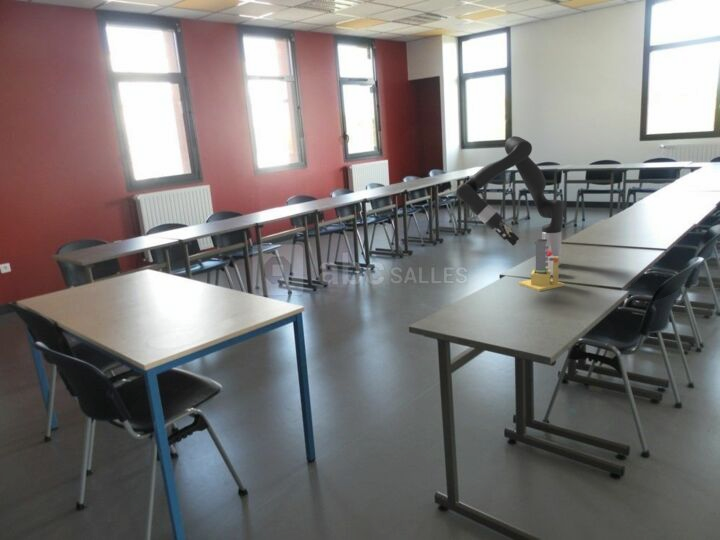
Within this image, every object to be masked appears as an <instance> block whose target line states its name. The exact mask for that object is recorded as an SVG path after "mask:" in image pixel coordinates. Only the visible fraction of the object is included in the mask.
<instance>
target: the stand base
mask: <svg viewBox="0 0 720 540" xmlns="http://www.w3.org/2000/svg"><path fill="white" fill-rule="evenodd" d="M549 261H553V275H552V276H551V270H548V272H546V274H536V272H535V270H536V269H532V271H531V273H530V279H526V280H521V281H518V282H517V285H519V286H522V287H526V288H528V289H531V290H534V291H537V292H542V291H545V290H546V291H547V290H551V289H555V288H560V287H564V286H565V283H563V282H561V281H559V266H558V264H559V256H554V257H553V258H549ZM551 277H552V278H551Z"/></svg>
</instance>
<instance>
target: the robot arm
mask: <svg viewBox="0 0 720 540" xmlns="http://www.w3.org/2000/svg"><path fill="white" fill-rule="evenodd" d="M532 146H533V145H532V143H531V142H530V141H528V140H526V139H524V138H522V137H520V136H517V135H516V136H515V135H514V136H513V135H512V136H510V137H508V139H507V140H506V141H505V144H504V150H505V154H506V156H505V157H502V158H501V159H499V160H496V161H494V162H491V163H489V164H487V165H485V166H483V167H482V168H480V169H479V170H477V172H475V173H474V174H473V175H472V176H471V177H470V179H468V180H467V181H466V182H465V183H462V184H459V185H458V186H457V188H456V191H455V197H456V198H457V200H459V201H461V202H464V203H465V204H466V205H467V206H468V208H469V210H470V211H472V213H473V214H475V215H476V216H477V217H478V219H479V220H480V221H481V222H483V224H484V225H485V226H486V227H488V229H489V230H490V231H492V230H494V229H495V232H496V233H497V234H498V235H499V237H501V238H502V239H503V240H504V241H507V242H508V243H510V244H511V246H515V245H516V244H517V241H519V240H520V238H519V236H518V235H517V234H516V233H514V230H513V228H511V227H510V226H509V225H508V224H507V223H506V222H504V221H503V220H504V217H503V216H502V215H501V214H500V213H499V212H497V211H496V210H495V208H493V207H492V206H491V205H490V204H488V203H487V202H486V201H485V200H484V199H482V198H481V196H480V195H479V194H478V193H477V192H478V191H479V190H480V189H482V188H483V187H485V186H486V185H488V184H489V183H490V182H491V181H493V180H494V179H495V178H496V177H498V176H499V175H500V174H503V173H504V172H506V171H507V170H510V168H513V167H514V166H515V167H516V170H517V172H518V173H519V175H520V178H521V179H522V181H523V183H524V185H525V186H526V189H527V190H528V192H529V194H530V196H531V198H532V199H533V202H534V204H535V208H536V209H537V212H538V214H539V216H540V217H542V218H545V219H550V223H548V224H544V225H542V227H541V239H547V244H546V247H548V250H546V251H552V255H553V256H559V264H558V265H559V266H561V264H562V227H563V223H564V222H563V220H564V204H563V201H562V200H559V199H547V197H546V196H545V194H544V192H545V189H546V186H547V180H546V178H545V176H544V173H543V172H542V170H541V169H540V167H539V166H538V165H537V164H536V163H535V162H534V160H532V158H530V156H531V153H532V151H533V147H532ZM502 221H503V222H502Z"/></svg>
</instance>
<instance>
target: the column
mask: <svg viewBox="0 0 720 540" xmlns="http://www.w3.org/2000/svg"><path fill="white" fill-rule="evenodd" d="M546 244H547V239H542V238H536V239H535V240H534V245H535V269H534V270H535V272H536V274H546V272H548V268H546V266H548V263H546V261H548V257H546V255H548V252H546V250H548V247H546Z"/></svg>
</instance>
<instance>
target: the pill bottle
mask: <svg viewBox="0 0 720 540" xmlns="http://www.w3.org/2000/svg"><path fill="white" fill-rule="evenodd" d="M546 252H548V255H546V257H548V261H546V263H548V266H546V268H548V270H551V275H552V276H553V261H549V258H553V257H554V256H553V255H552V251H546Z"/></svg>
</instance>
